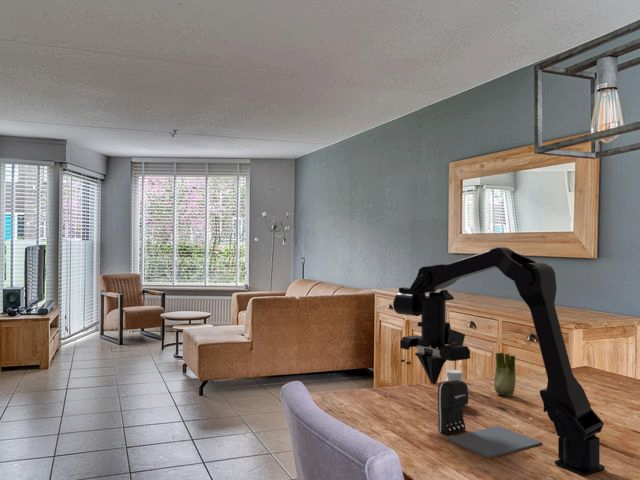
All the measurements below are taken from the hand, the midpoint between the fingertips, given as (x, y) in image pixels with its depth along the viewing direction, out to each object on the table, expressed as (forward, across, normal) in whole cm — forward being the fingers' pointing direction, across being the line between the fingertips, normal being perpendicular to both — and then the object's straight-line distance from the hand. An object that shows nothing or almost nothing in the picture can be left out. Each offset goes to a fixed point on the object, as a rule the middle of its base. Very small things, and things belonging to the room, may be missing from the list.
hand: (433, 383), depth 130 cm
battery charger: (+10, -7, 0) cm, 12 cm away
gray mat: (+10, -16, -3) cm, 19 cm away
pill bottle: (+10, +9, -15) cm, 20 cm away
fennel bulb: (+10, +9, -34) cm, 36 cm away
